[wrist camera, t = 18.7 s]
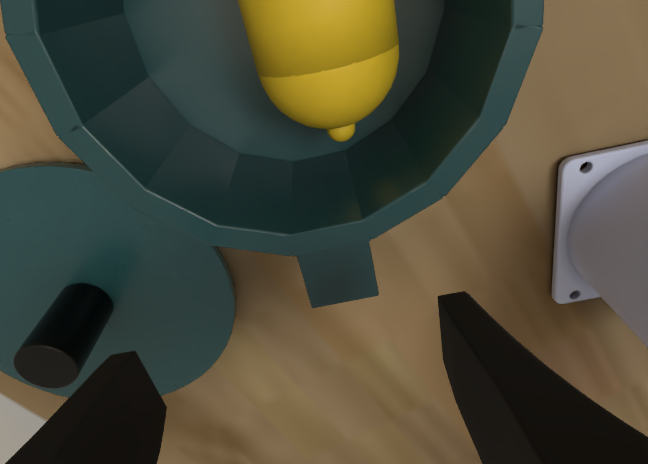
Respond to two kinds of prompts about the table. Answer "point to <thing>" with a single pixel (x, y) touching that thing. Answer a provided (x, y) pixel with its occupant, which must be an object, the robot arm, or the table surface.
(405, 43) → the pot
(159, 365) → the lid
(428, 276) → the table surface
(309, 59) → the small lemon
